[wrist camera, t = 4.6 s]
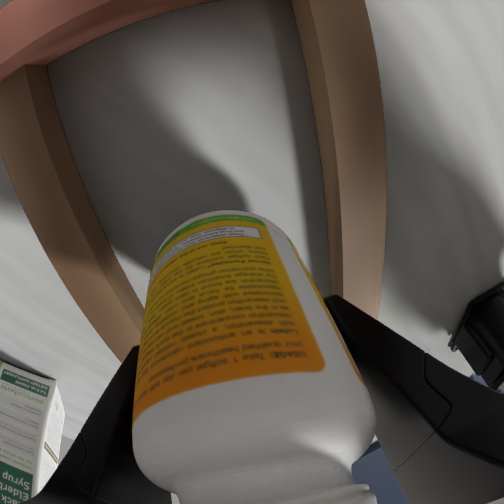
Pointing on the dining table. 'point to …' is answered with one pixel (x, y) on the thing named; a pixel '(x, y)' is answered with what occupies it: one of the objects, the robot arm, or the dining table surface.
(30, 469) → the syrup box
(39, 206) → the frame
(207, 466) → the supplement bottle
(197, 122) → the dining table surface
